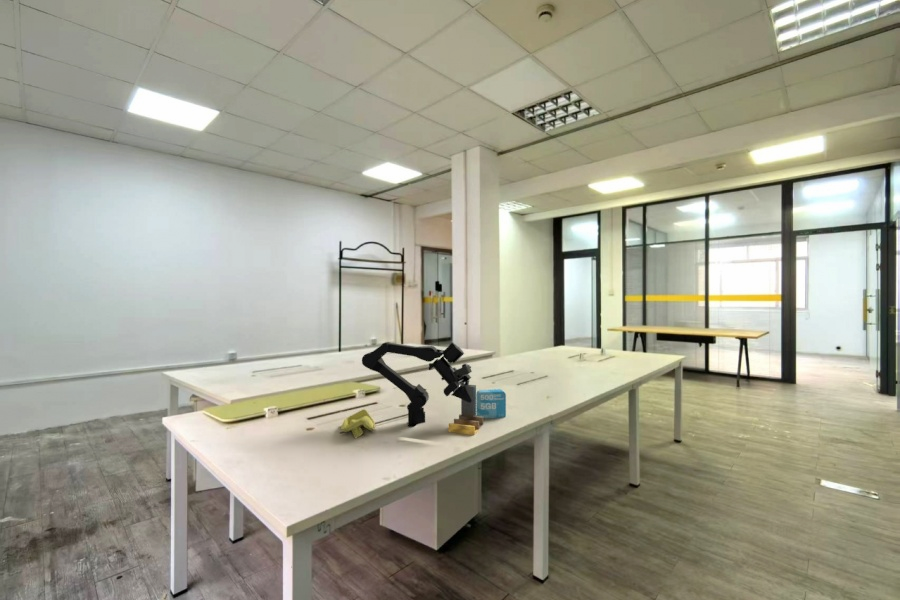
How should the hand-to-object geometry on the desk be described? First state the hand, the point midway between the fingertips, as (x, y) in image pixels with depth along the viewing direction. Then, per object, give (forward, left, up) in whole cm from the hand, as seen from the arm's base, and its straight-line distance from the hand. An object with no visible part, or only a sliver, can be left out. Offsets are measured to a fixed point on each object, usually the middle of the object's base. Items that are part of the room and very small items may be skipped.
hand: (472, 400), depth 150 cm
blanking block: (-1, +1, -6) cm, 6 cm away
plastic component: (-45, -1, -11) cm, 46 cm away
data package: (+10, +13, -11) cm, 20 cm away
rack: (-2, -2, -11) cm, 12 cm away
